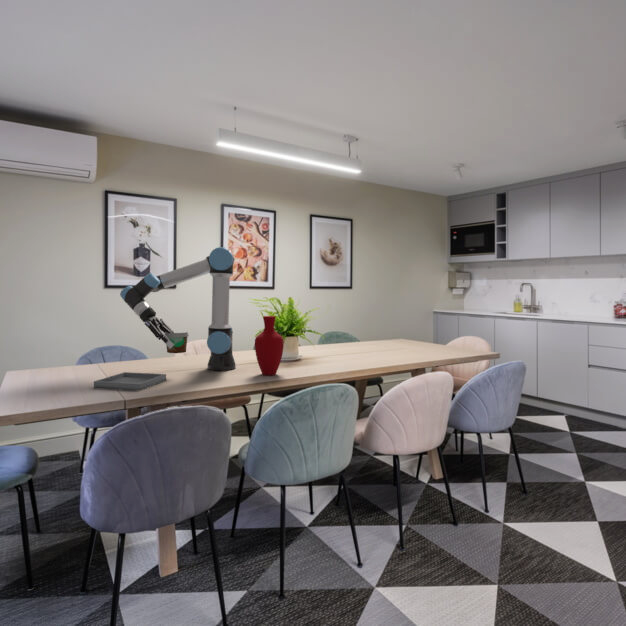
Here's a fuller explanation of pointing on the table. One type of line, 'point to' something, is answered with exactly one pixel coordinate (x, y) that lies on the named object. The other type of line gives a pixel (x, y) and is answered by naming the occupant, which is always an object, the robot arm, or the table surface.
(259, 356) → the vase
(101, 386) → the gray square tray
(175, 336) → the food container
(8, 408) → the table surface
